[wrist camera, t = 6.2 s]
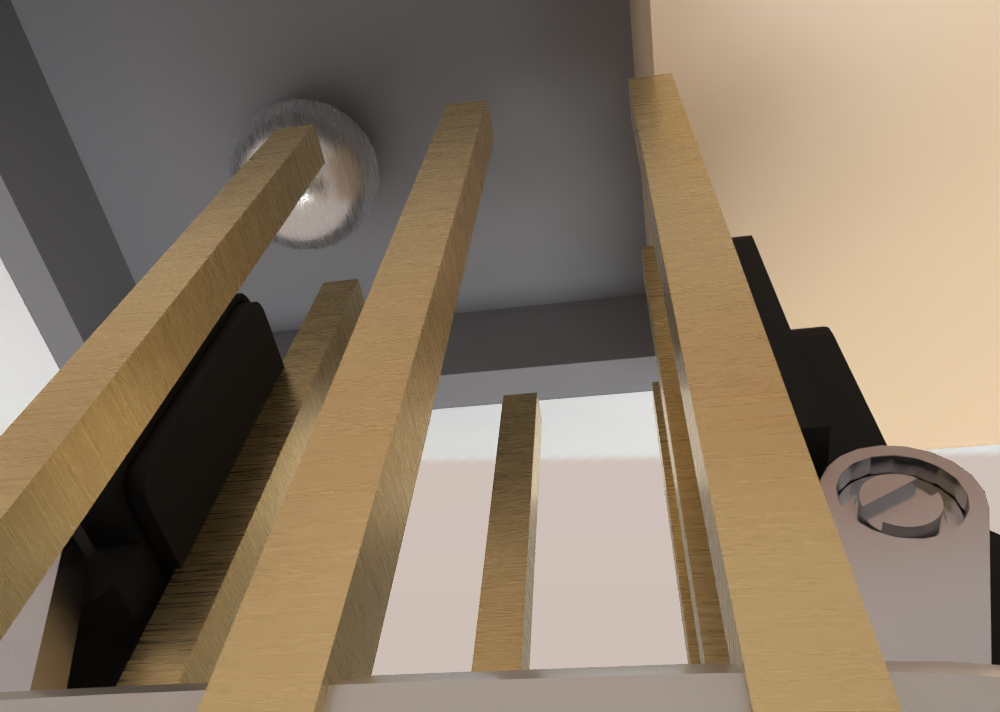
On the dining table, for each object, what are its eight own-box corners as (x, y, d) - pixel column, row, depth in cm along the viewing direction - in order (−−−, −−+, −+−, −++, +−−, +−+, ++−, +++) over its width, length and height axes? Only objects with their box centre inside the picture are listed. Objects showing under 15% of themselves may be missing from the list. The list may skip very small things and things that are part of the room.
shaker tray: (-37, -74, 20) (-350, -9, 13) (1087, -282, 16) (1449, -337, 9) (156, 355, 26) (13, 547, 19) (990, 273, 23) (1165, 473, 16)
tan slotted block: (275, 129, 13) (-425, 909, 4) (671, 72, 12) (975, 913, 3) (370, 434, 16) (108, 1255, 7) (688, 406, 15) (861, 1304, 6)
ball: (353, 69, 20) (210, 101, 20) (366, 106, 17) (201, 143, 17) (385, 201, 22) (256, 231, 22) (402, 253, 19) (254, 290, 19)
